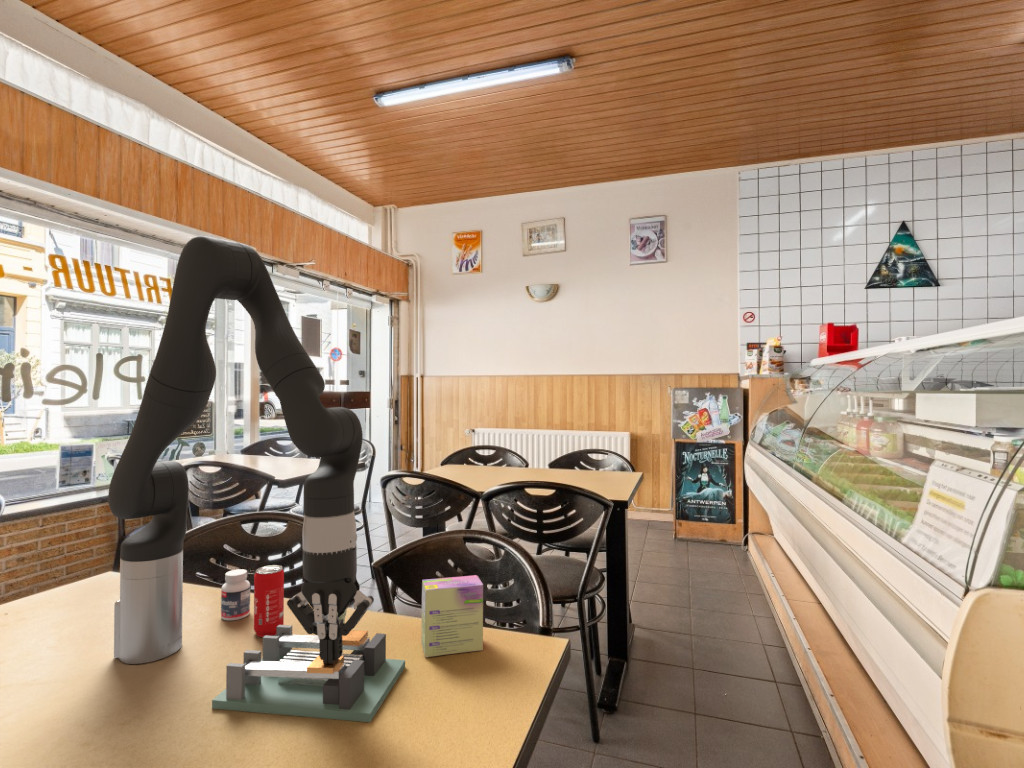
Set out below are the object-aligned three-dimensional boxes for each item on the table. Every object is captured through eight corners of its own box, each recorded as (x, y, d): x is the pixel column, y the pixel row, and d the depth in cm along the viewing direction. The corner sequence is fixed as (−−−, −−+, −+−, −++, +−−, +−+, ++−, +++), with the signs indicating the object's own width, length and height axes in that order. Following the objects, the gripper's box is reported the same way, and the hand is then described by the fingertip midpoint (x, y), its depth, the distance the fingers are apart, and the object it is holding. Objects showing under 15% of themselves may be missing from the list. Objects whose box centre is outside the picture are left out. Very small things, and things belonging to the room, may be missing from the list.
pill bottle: (214, 619, 108) (215, 575, 108) (233, 609, 113) (234, 567, 113) (237, 622, 107) (237, 577, 107) (255, 611, 112) (255, 569, 112)
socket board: (211, 708, 78) (212, 666, 78) (271, 657, 93) (271, 622, 93) (370, 722, 75) (370, 679, 75) (405, 667, 90) (405, 631, 90)
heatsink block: (278, 683, 83) (278, 661, 83) (292, 669, 87) (292, 649, 87) (352, 689, 81) (352, 667, 81) (363, 675, 85) (363, 654, 85)
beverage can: (272, 639, 100) (272, 574, 100) (247, 636, 101) (248, 572, 101) (289, 627, 105) (289, 565, 105) (265, 625, 106) (266, 563, 106)
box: (476, 636, 101) (476, 573, 101) (483, 650, 96) (483, 584, 96) (420, 643, 98) (421, 579, 99) (424, 658, 93) (425, 590, 93)
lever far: (268, 649, 88) (268, 637, 88) (280, 639, 92) (280, 627, 92) (362, 652, 86) (362, 640, 86) (371, 642, 90) (370, 630, 90)
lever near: (232, 678, 79) (232, 665, 79) (248, 666, 83) (247, 653, 83) (336, 681, 77) (336, 668, 77) (347, 668, 81) (347, 655, 81)
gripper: (273, 549, 77) (274, 672, 76) (362, 551, 75) (364, 677, 75) (300, 535, 84) (302, 647, 84) (382, 537, 82) (384, 651, 82)
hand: (331, 661), depth 79 cm, fingers closed
